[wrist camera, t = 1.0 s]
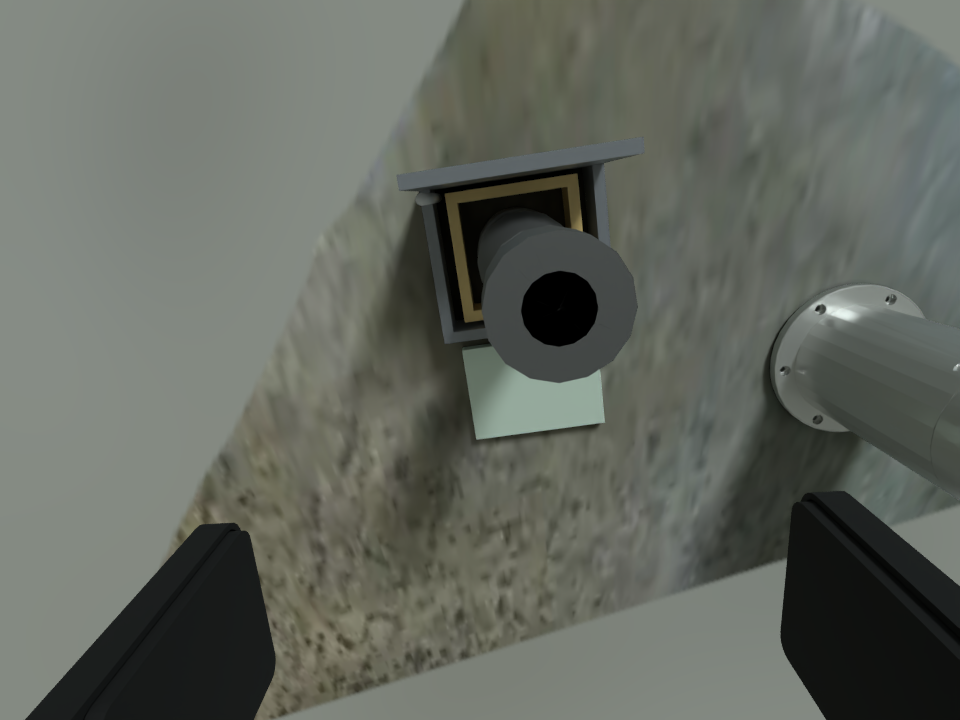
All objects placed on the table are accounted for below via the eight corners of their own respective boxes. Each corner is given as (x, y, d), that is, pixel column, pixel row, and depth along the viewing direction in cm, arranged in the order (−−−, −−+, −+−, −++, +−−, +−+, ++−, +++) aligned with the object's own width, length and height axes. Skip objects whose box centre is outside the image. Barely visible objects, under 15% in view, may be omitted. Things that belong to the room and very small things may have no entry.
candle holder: (568, 223, 44) (673, 259, 20) (537, 297, 46) (602, 411, 22) (494, 194, 43) (511, 195, 19) (466, 270, 45) (450, 356, 21)
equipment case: (591, 154, 42) (643, 136, 29) (604, 309, 46) (656, 357, 32) (422, 180, 43) (396, 174, 30) (447, 331, 46) (434, 387, 33)
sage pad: (594, 328, 46) (596, 331, 45) (602, 417, 49) (604, 422, 48) (462, 347, 47) (461, 350, 46) (476, 434, 49) (476, 439, 48)
